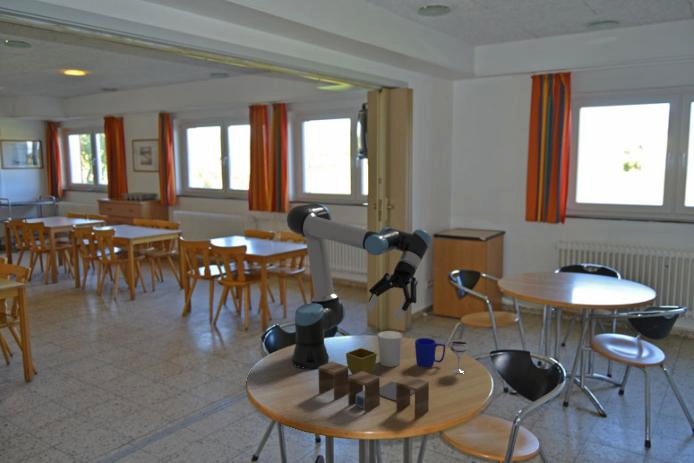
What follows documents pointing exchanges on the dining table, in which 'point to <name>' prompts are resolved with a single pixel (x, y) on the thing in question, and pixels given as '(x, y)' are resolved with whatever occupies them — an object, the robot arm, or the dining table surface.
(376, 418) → the dining table surface
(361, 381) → the cover middle
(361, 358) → the flower pot
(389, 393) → the mat
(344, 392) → the cover left
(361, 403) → the cube
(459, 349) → the wineglass
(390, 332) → the candle holder
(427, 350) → the mug
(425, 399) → the cover right
